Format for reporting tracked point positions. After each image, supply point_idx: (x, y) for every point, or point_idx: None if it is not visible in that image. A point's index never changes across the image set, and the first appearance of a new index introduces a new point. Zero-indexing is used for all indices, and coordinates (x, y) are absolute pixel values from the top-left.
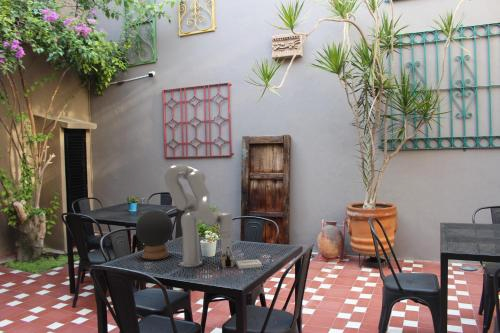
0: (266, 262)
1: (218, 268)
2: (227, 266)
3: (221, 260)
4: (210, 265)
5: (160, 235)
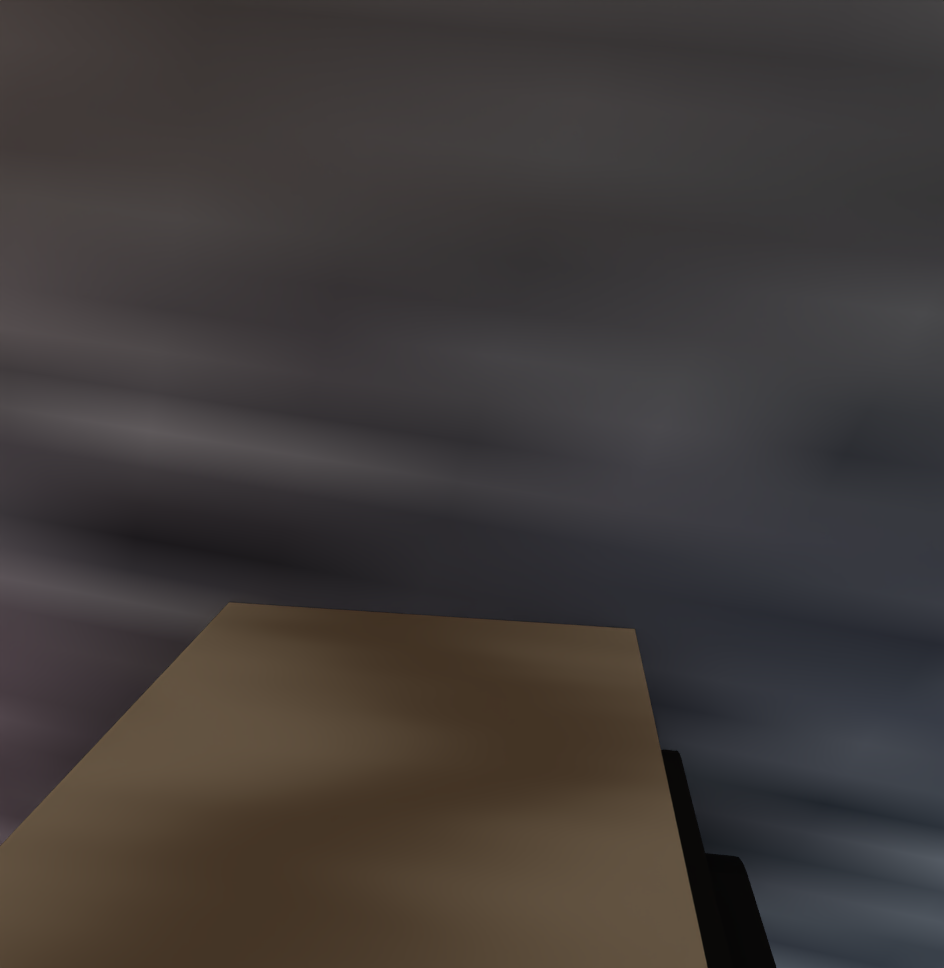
0: None
1: (105, 421)
2: None
3: (631, 762)
4: (728, 111)
5: None
